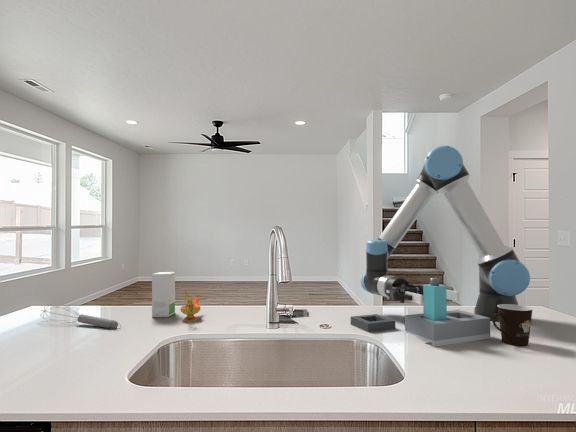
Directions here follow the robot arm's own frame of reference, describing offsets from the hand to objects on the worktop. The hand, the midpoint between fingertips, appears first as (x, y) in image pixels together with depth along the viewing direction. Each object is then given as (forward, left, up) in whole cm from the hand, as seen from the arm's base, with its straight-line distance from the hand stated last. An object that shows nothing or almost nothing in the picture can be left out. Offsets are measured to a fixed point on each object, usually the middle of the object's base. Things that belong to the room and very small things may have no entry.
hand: (440, 298), depth 113 cm
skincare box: (+72, -63, -12) cm, 96 cm away
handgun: (+30, -43, -13) cm, 54 cm away
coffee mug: (-16, +9, -12) cm, 22 cm away
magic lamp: (+63, -54, -12) cm, 84 cm away
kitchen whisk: (+98, -59, -13) cm, 115 cm away
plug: (0, -2, -11) cm, 11 cm away
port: (-4, -2, -12) cm, 13 cm away
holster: (+12, -17, -12) cm, 24 cm away
